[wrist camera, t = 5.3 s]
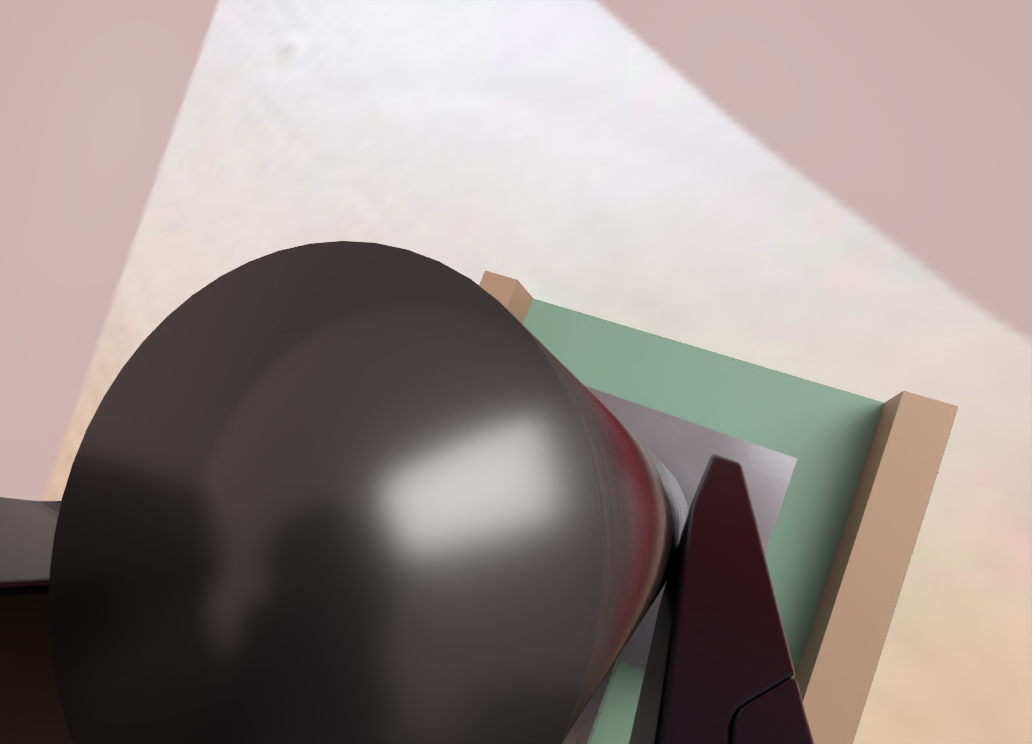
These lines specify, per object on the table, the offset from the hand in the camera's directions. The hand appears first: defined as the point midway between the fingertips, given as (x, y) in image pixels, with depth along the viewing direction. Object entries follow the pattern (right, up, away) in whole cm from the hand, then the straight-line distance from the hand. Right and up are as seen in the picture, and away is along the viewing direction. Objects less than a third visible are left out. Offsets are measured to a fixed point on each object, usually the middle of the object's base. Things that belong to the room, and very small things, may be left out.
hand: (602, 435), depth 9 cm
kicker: (+1, -5, +5) cm, 7 cm away
